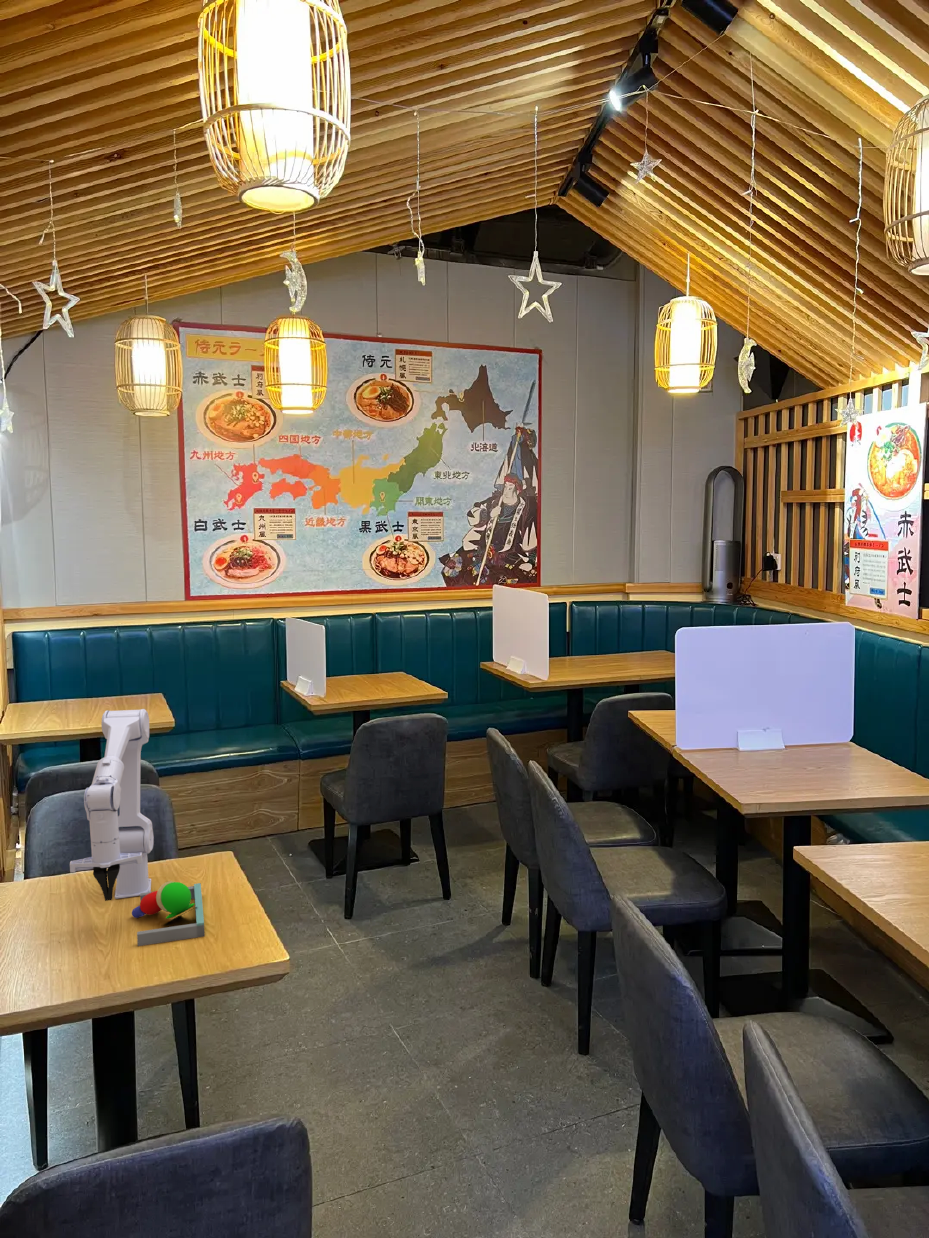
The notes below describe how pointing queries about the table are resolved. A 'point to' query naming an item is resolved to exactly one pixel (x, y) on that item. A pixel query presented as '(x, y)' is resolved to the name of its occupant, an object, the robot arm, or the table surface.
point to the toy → (165, 901)
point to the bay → (176, 931)
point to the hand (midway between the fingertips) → (108, 898)
